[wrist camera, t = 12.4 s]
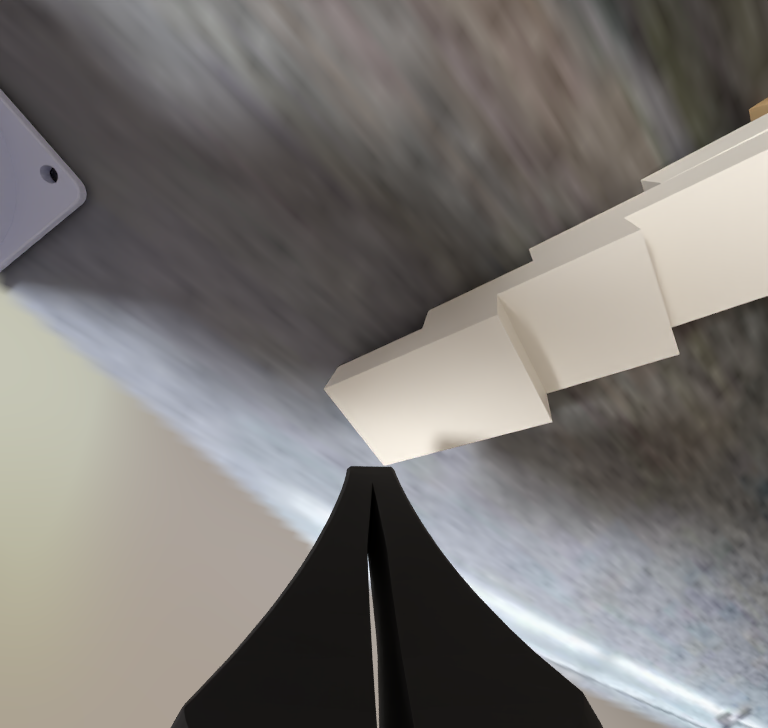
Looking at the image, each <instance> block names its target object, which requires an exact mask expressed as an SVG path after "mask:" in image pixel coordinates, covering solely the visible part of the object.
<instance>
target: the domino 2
mask: <svg viewBox="0 0 768 728" xmlns="http://www.w3.org/2000/svg"><path fill="white" fill-rule="evenodd" d="M494 295H497V296H498V298H499V300H500V302H501V304H502V306H503V308H504V310H505V312H506V314H507V316H508V318H509V320H510V322H511V324H512V326H513V328H514V330H515V332H516V334H517V335H518V337H519V339H520V341H521V343H522V345H523V347H524V349H525V351H526V353H527V355H528V357H529V359H530V361H531V363H532V365H533V367H534V369H535V371H536V373H537V375H538V377H539V379H540V381H541V383H542V385H543V387H544V389H545V391H546V393H551V392H554V391H557V390H561V389H564V388H567V387H571V386H574V385H578V384H581V383H584V382H588V381H591V380H594V379H598V378H601V377H605V376H608V375H611V374H615V373H618V372H621V371H625V370H628V369H632V368H635V367H638V366H642V365H645V364H648V363H652V362H655V361H659V360H662V359H665V358H669V357H672V356H675V355H679V351H678V347H677V344H676V341H675V338H674V334H673V331H672V328H671V325H670V321H669V318H668V315H667V312H666V308H665V305H664V302H663V299H662V295H661V292H660V289H659V286H658V283H657V279H656V276H655V273H654V270H653V266H652V263H651V260H650V257H649V253H648V250H647V247H646V244H645V240H644V237H643V234H642V231H641V229H640V228H638V227H637V226H635V225H634V224H632V223H631V222H629V221H628V220H626V219H625V218H622V219H620V220H618V221H616V222H614V223H612V224H609V225H607V226H605V227H603V228H601V229H599V230H597V231H595V232H593V233H591V234H588V235H586V236H584V237H582V238H580V239H578V240H576V241H574V242H572V243H570V244H567V245H565V246H563V247H561V248H559V249H557V250H555V251H553V252H551V253H549V254H546V255H544V256H542V257H540V258H538V259H536V260H534V261H532V262H530V263H528V264H525V265H523V266H521V267H519V268H517V269H515V270H513V271H511V272H509V273H506V274H504V275H502V276H500V277H498V278H496V279H494V280H492V281H490V282H488V283H485V284H483V285H481V286H479V287H477V288H475V289H473V290H471V291H469V292H467V293H464V294H462V295H460V296H458V297H456V298H454V299H452V300H450V301H448V302H446V303H443V304H441V305H439V306H437V307H435V308H433V309H431V310H429V311H428V313H427V316H426V319H425V322H424V325H423V328H424V327H426V326H429V325H431V324H433V323H435V322H437V321H440V320H442V319H444V318H446V317H448V316H451V315H453V314H455V313H457V312H459V311H462V310H464V309H466V308H468V307H470V306H472V305H475V304H477V303H479V302H481V301H483V300H486V299H488V298H490V297H492V296H494Z"/></svg>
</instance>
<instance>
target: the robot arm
mask: <svg viewBox="0 0 768 728" xmlns="http://www.w3.org/2000/svg"><path fill="white" fill-rule="evenodd" d="M51 168H54V169H55V170H56V172H57V174H58V180H57V182H54V181H53V180H52V178H51V176H50V170H51ZM86 196H87V192H86V189H85V186H84V185H83V183H82V181H81V180H80V179H79V178H78V177H77V176H76V174H75V173H74V172H73V171H72V170H71V169H70V168H69V166H68V165H67V164H66V163H65V162H64V161H63V160H62V158H61V157H60V156H59V155H58V154H57V153H56V152H55V151H54V149H53V148H52V147H51V146H50V145H49V144H48V143H47V141H46V140H45V139H44V138H43V137H42V136H41V135H40V133H39V132H38V131H37V130H36V129H35V128H34V127H33V125H32V124H31V123H30V122H29V121H28V120H27V119H26V117H25V116H24V115H23V114H22V113H21V112H20V111H19V109H18V108H17V107H16V106H15V105H14V104H13V103H12V101H11V100H10V99H9V98H8V97H7V96H6V95H5V94H4V92H3V91H2V90H1V89H0V272H1V271H2V270H3V269H5V268H6V267H7V266H8V265H9V264H11V263H12V262H13V261H14V260H15V259H17V258H18V257H19V256H20V255H21V254H23V253H24V252H25V251H26V250H28V249H29V248H30V247H31V246H32V245H34V244H35V243H36V242H37V241H38V240H40V239H41V238H42V237H43V236H44V235H46V234H47V233H48V232H49V231H51V230H52V229H53V228H54V227H55V226H57V225H58V224H59V223H60V222H61V221H63V220H64V219H65V218H66V217H67V216H69V215H70V214H71V213H72V212H74V211H75V210H76V209H77V208H78V207H80V206H81V205H82V204H83V203H84V201H85V200H86ZM368 560H369V570H370V579H371V589H372V599H373V608H374V618H375V628H376V639H377V654H378V688H379V689H378V690H379V691H378V692H379V728H603V727H602V725H601V723H600V721H599V720H598V718H597V716H596V714H595V713H594V711H593V709H592V708H591V706H590V704H589V702H588V701H587V699H586V697H585V695H584V694H583V692H582V691H580V690H579V689H578V688H577V687H576V686H575V685H573V684H572V683H571V682H570V681H569V680H567V679H566V678H565V677H564V676H563V675H561V674H560V673H559V672H558V671H557V670H555V669H554V668H553V667H552V666H551V665H549V664H548V663H547V662H546V661H545V660H544V659H542V658H541V657H540V656H539V655H538V654H536V653H535V652H534V651H533V650H532V649H531V648H530V647H529V646H528V645H527V644H526V643H525V642H523V641H522V640H521V639H520V638H519V637H518V636H517V635H516V634H515V633H514V632H513V631H512V630H511V629H510V628H509V627H508V626H507V625H506V624H505V623H504V622H503V621H502V620H501V619H500V618H499V617H498V616H497V615H496V614H495V613H494V612H493V611H492V610H491V609H490V608H489V607H488V606H487V605H486V604H485V603H484V601H483V600H482V599H481V598H480V597H479V596H478V595H477V594H476V593H475V592H474V591H473V590H472V588H471V587H470V586H469V585H468V584H467V583H466V581H465V580H464V579H463V578H462V577H461V576H460V574H459V573H458V572H457V571H456V569H455V568H454V567H453V566H452V564H451V563H450V562H449V561H448V559H447V558H446V557H445V555H444V554H443V553H442V551H441V550H440V549H439V547H438V546H437V544H436V543H435V542H434V540H433V539H432V537H431V536H430V534H429V533H428V531H427V530H426V528H425V527H424V525H423V524H422V522H421V520H420V519H419V517H418V515H417V514H416V512H415V510H414V509H413V507H412V505H411V504H410V502H409V500H408V498H407V496H406V494H405V493H404V491H403V489H402V487H401V485H400V482H399V480H398V478H397V476H396V473H395V471H394V469H393V468H392V467H363V466H351V467H349V468H348V469H347V472H346V477H345V481H344V484H343V487H342V490H341V492H340V495H339V497H338V500H337V502H336V504H335V506H334V508H333V510H332V513H331V515H330V517H329V519H328V521H327V523H326V525H325V526H324V528H323V530H322V532H321V534H320V536H319V537H318V539H317V541H316V543H315V545H314V546H313V548H312V550H311V551H310V553H309V554H308V556H307V558H306V559H305V561H304V562H303V564H302V566H301V567H300V568H299V570H298V571H297V573H296V574H295V576H294V577H293V579H292V580H291V581H290V583H289V584H288V586H287V587H286V588H285V590H284V591H283V592H282V594H281V595H280V597H279V598H278V599H277V601H276V602H275V603H274V605H273V606H272V607H271V608H270V610H269V611H268V612H267V614H266V615H265V616H264V617H263V618H262V620H261V621H260V622H259V623H258V625H256V627H255V628H254V629H253V630H252V631H251V633H250V634H249V635H248V636H247V637H246V639H245V640H244V641H243V642H242V643H241V644H240V646H239V647H238V648H237V649H236V650H235V651H234V653H233V654H232V655H231V656H230V657H229V658H228V659H227V661H225V663H224V664H223V665H222V666H221V667H220V668H219V669H218V670H217V671H216V672H215V673H214V674H213V675H212V676H211V677H210V678H209V679H208V680H207V681H206V683H205V684H204V685H203V686H202V687H201V688H200V689H199V690H198V691H197V692H196V693H195V694H194V695H193V696H192V697H191V698H190V699H189V700H188V701H187V702H186V703H185V705H184V706H183V707H182V709H181V711H180V712H179V714H178V716H177V717H176V719H175V721H174V723H173V725H172V727H171V728H377V721H376V707H375V692H374V676H373V661H372V643H371V625H370V607H369V606H370V605H369V583H368Z"/></svg>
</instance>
